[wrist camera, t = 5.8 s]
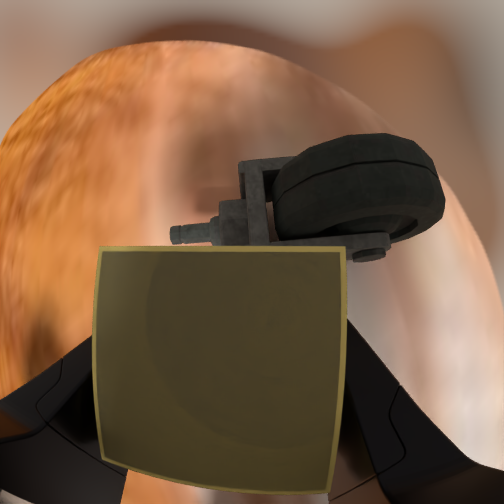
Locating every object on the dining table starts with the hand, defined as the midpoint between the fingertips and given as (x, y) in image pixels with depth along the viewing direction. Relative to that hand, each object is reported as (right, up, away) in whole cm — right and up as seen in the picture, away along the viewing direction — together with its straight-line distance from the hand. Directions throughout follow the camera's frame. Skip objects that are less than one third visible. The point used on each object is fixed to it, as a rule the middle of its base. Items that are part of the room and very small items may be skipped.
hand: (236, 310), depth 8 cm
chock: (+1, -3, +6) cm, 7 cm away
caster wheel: (+4, +3, +11) cm, 12 cm away
